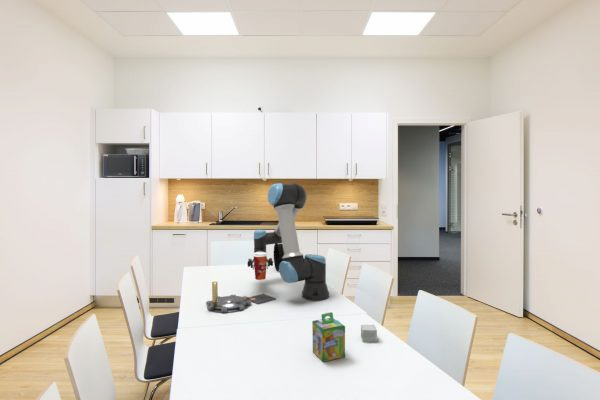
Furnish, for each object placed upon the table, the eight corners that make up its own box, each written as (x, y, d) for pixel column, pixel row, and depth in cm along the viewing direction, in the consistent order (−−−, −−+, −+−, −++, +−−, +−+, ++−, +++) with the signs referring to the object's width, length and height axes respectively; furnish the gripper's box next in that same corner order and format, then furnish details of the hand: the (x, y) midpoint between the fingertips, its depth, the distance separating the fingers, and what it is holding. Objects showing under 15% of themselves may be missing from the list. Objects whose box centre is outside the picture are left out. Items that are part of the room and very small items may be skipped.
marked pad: (276, 299, 190) (276, 297, 190) (258, 304, 183) (258, 302, 182) (263, 294, 199) (263, 293, 199) (245, 299, 191) (245, 297, 191)
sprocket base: (258, 305, 180) (258, 304, 180) (220, 316, 166) (220, 315, 166) (236, 296, 197) (236, 295, 197) (199, 305, 182) (199, 304, 182)
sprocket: (244, 294, 196) (243, 271, 196) (256, 307, 176) (256, 280, 175) (203, 300, 187) (202, 276, 186) (211, 314, 166) (210, 286, 166)
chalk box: (323, 362, 121) (322, 320, 120) (311, 351, 129) (311, 311, 129) (346, 357, 124) (345, 316, 124) (333, 346, 133) (333, 308, 132)
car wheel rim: (293, 272, 251) (292, 244, 250) (279, 273, 248) (279, 245, 248) (286, 266, 270) (286, 240, 270) (273, 267, 267) (273, 241, 267)
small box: (360, 336, 142) (360, 324, 142) (374, 336, 142) (374, 324, 142) (362, 342, 137) (362, 329, 136) (377, 342, 136) (377, 330, 136)
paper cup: (261, 281, 185) (261, 254, 185) (250, 279, 190) (250, 253, 189) (270, 277, 192) (270, 252, 192) (259, 276, 196) (259, 251, 196)
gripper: (276, 264, 210) (278, 273, 187) (243, 265, 207) (241, 274, 184) (276, 251, 209) (278, 259, 187) (243, 252, 207) (241, 260, 184)
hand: (260, 266), depth 186 cm, fingers closed on paper cup, 7 cm apart
